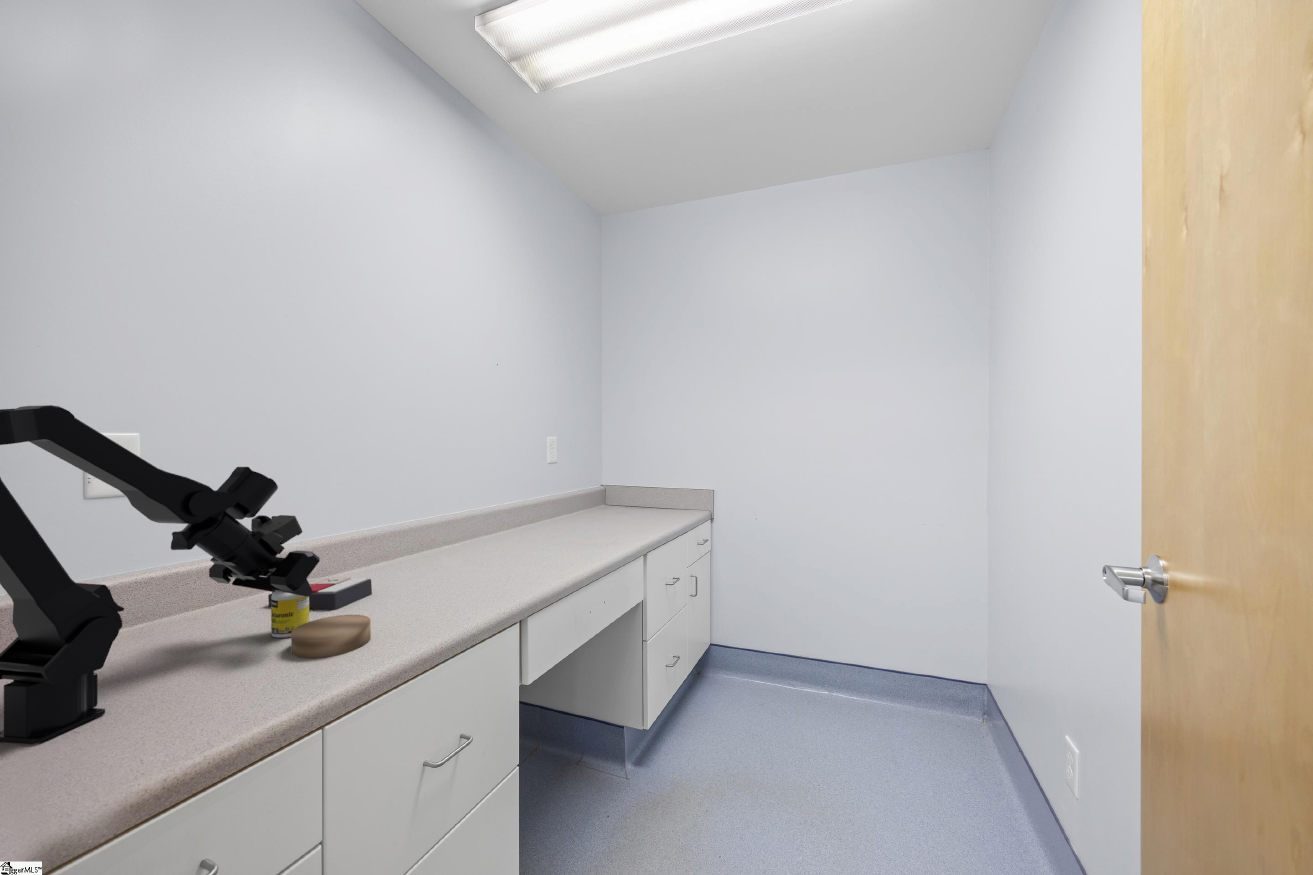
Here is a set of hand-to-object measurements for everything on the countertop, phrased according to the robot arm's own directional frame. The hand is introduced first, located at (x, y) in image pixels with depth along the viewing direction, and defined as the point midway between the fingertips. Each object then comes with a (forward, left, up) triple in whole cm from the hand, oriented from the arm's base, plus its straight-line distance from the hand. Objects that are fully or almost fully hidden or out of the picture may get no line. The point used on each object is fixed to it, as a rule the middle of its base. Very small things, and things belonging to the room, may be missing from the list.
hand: (298, 592), depth 91 cm
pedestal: (-5, -11, -7) cm, 14 cm away
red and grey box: (+16, +9, -7) cm, 20 cm away
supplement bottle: (-1, 0, -7) cm, 7 cm away
